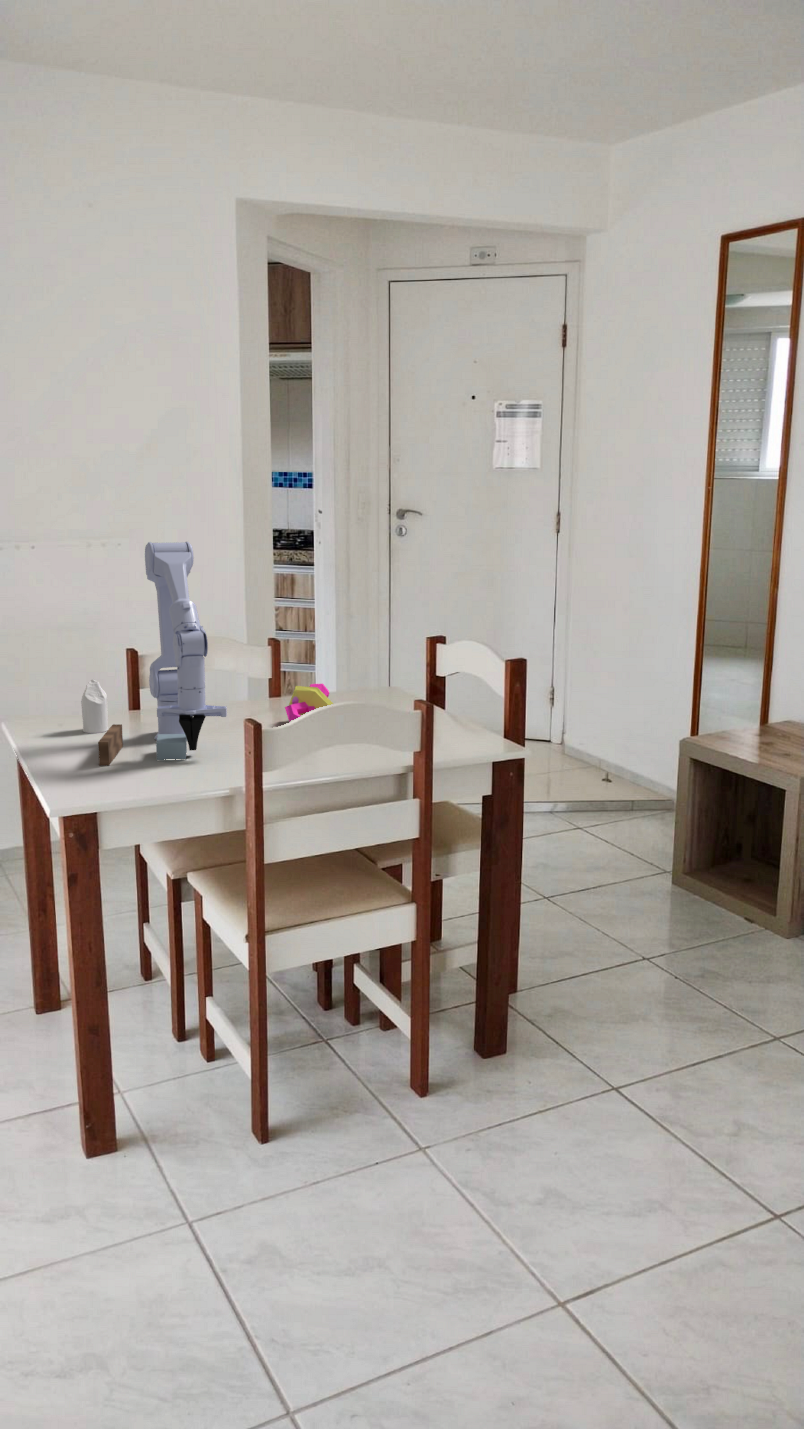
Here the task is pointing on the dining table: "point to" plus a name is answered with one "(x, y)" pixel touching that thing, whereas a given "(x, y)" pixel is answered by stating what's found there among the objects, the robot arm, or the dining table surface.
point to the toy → (307, 700)
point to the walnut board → (110, 744)
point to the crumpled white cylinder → (94, 708)
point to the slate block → (171, 746)
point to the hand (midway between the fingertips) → (193, 749)
